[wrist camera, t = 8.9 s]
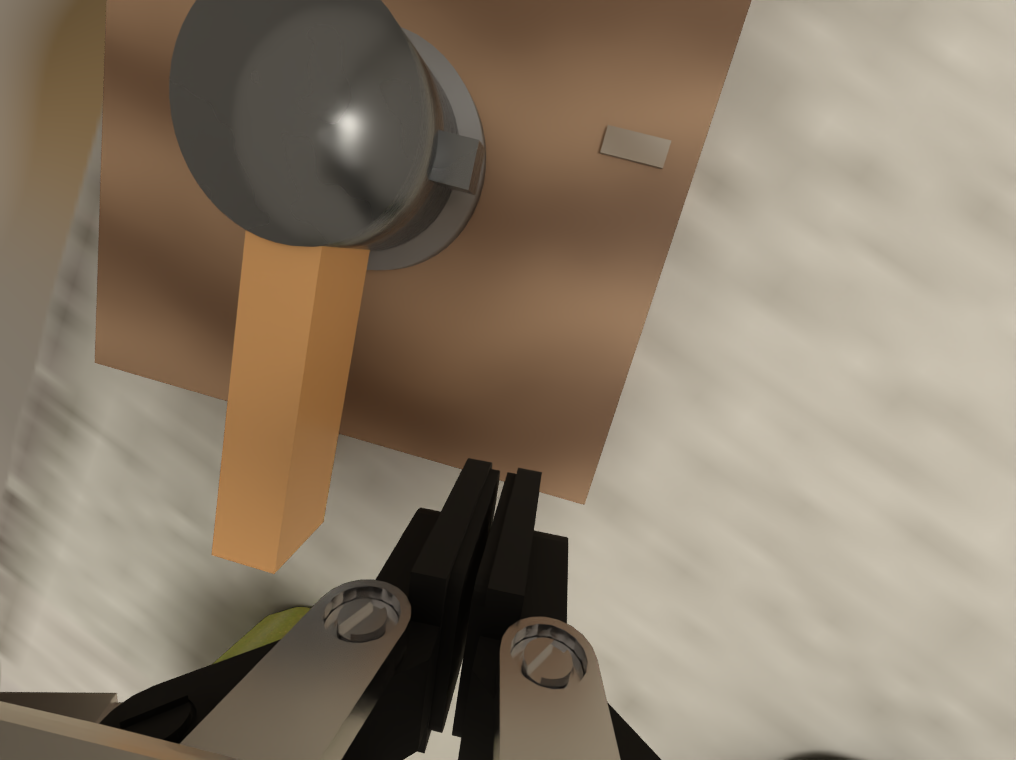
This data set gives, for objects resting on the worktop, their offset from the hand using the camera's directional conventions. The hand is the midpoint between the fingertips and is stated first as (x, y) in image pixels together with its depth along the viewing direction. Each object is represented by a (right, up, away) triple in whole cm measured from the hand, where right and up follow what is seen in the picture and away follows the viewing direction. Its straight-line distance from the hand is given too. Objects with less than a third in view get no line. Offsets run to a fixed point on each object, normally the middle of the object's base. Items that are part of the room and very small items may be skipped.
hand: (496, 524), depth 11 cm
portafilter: (-5, +6, +5) cm, 10 cm away
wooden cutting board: (-4, +11, +7) cm, 14 cm away
